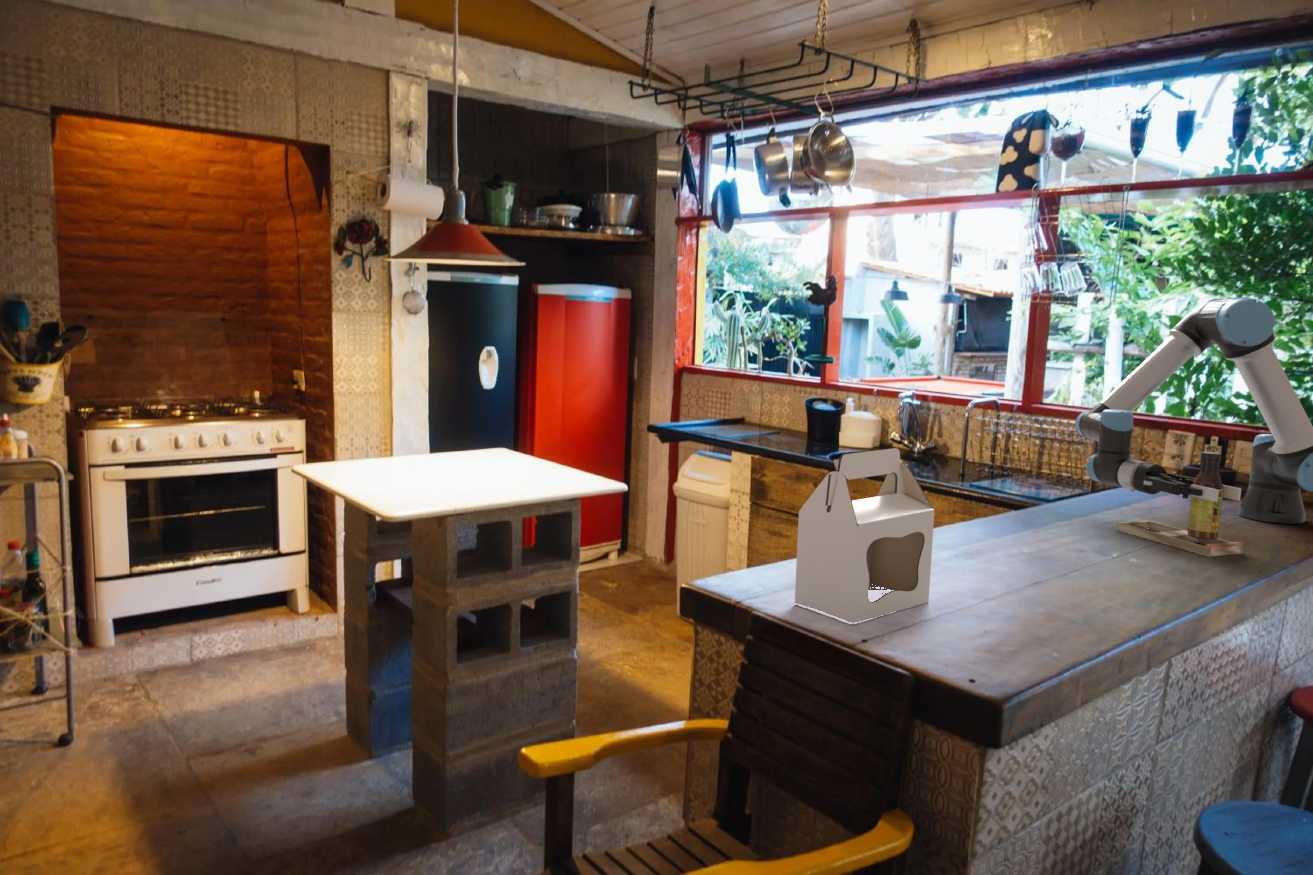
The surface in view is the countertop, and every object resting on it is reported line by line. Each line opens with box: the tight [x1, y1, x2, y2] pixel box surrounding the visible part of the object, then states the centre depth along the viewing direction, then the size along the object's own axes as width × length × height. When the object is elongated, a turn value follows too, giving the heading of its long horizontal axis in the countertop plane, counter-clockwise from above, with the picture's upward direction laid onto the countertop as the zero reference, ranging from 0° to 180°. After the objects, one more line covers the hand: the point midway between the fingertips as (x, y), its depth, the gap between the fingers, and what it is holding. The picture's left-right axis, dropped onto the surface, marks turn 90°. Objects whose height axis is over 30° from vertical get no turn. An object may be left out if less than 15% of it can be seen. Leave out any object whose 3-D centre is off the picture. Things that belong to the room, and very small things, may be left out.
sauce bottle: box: [1187, 451, 1224, 539], centre depth 207 cm, size 6×6×20 cm
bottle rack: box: [1115, 519, 1245, 557], centre depth 216 cm, size 11×26×3 cm, turn 19°
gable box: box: [794, 447, 935, 623], centre depth 161 cm, size 22×13×28 cm, turn 129°
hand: (1228, 495), depth 203 cm, fingers closed on sauce bottle, 6 cm apart
